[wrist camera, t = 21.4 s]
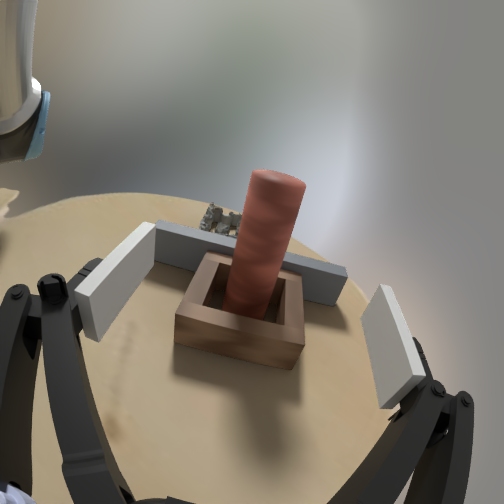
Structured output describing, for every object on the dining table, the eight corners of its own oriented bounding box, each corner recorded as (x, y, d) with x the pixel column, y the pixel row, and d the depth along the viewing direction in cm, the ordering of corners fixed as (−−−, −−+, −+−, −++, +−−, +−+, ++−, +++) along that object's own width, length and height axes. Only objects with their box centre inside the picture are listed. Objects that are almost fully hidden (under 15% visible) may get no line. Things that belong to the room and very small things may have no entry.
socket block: (173, 341, 26) (175, 313, 24) (203, 276, 36) (207, 250, 34) (291, 370, 26) (305, 344, 24) (291, 298, 37) (301, 273, 35)
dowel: (217, 320, 30) (248, 177, 22) (226, 293, 34) (255, 166, 27) (261, 331, 30) (307, 193, 22) (265, 303, 34) (304, 179, 27)
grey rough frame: (207, 220, 52) (211, 200, 50) (246, 229, 52) (251, 209, 50) (192, 246, 43) (195, 222, 41) (239, 258, 43) (244, 234, 41)
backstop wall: (150, 259, 37) (151, 226, 34) (157, 250, 39) (159, 219, 37) (333, 306, 37) (348, 277, 34) (331, 295, 39) (344, 267, 37)
